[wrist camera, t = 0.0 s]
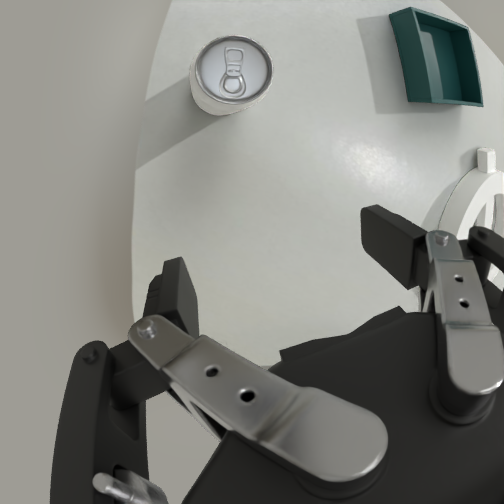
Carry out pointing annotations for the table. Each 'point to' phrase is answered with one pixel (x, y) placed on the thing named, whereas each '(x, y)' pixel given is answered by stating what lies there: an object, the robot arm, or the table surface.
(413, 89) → the teal open storage bin
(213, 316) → the table surface
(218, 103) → the can
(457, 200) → the ring with crossbar
